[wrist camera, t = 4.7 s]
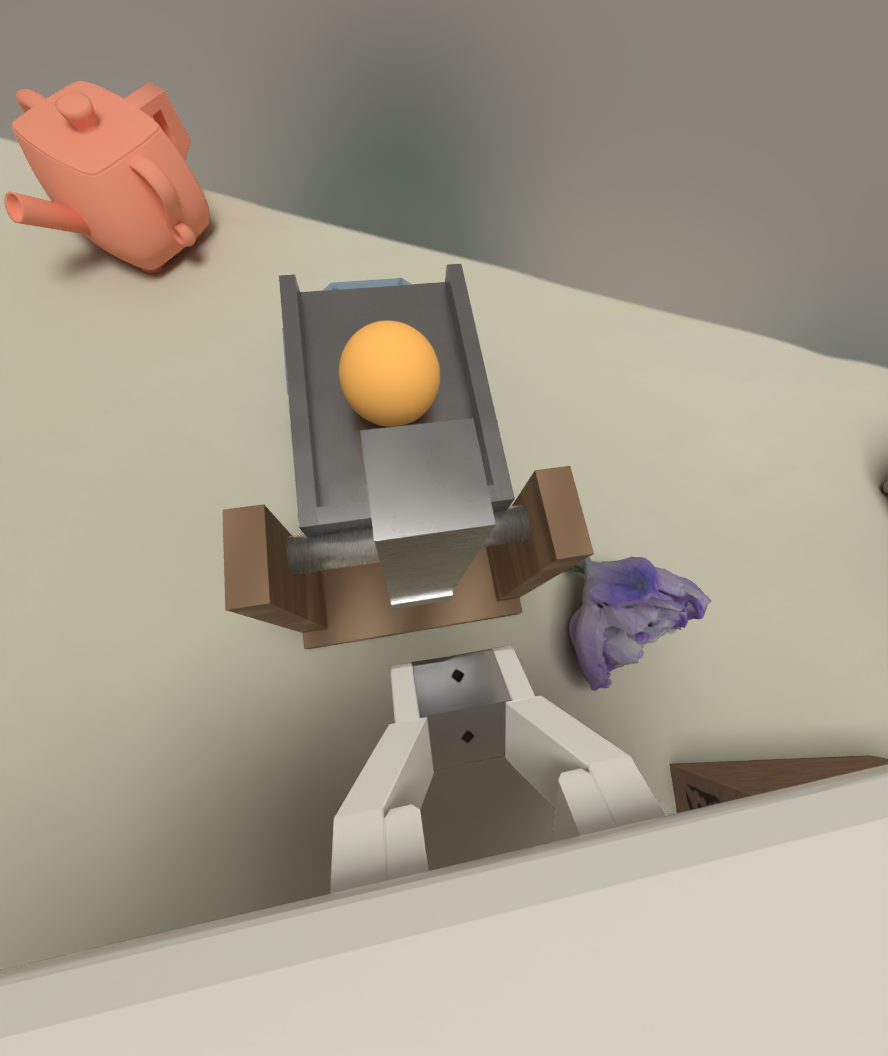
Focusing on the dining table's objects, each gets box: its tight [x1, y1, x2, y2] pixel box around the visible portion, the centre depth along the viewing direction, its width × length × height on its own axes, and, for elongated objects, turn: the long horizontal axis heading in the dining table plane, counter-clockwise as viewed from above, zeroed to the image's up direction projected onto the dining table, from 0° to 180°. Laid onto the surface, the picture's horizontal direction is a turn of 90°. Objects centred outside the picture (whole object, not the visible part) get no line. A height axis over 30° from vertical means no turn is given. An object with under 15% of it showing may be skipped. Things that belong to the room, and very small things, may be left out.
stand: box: [223, 466, 594, 649], centre depth 25 cm, size 15×6×14 cm, turn 100°
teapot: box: [5, 81, 210, 274], centre depth 34 cm, size 12×12×10 cm
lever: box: [279, 264, 530, 610], centre depth 16 cm, size 10×15×11 cm, turn 10°
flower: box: [569, 557, 711, 691], centre depth 29 cm, size 9×9×10 cm
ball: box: [339, 321, 440, 427], centre depth 18 cm, size 4×4×4 cm
